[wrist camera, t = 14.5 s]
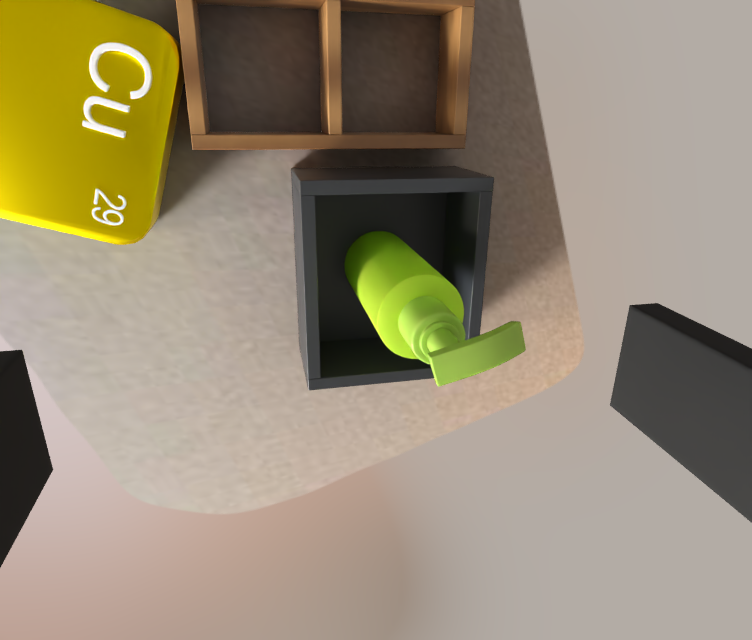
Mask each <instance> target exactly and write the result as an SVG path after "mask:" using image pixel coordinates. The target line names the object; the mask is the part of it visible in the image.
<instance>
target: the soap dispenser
mask: <svg viewBox="0 0 752 640" xmlns="http://www.w3.org/2000/svg"><path fill="white" fill-rule="evenodd" d="M344 267H345V274H346V277H347V279H348V281H349V283H350V285H351V286H352V288H353V290H354V292H355V293H356V295H357V297H358V299H359V301H360V302H361V304H362V306H363V308H364V309H365V311H366V313H367V315H368V316H369V318H370V320H371V322H372V323H373V325H374V327H375V329H376V331H377V332H378V334H379V336H380V338H381V339H382V341H383V343H384V344H385V345H386V346H387V347H388V348H389V349H390V350H391V351H392V352H394V353H395V354H397V355H399V356H402V357H405V358H410V359H419V360H421V361H422V362H424V363H427V364H430V365H431V368H432V372H433V375H434V379H435V382H436V384H437V385H438V386H442V385H445V384H448V383H452V382H455V381H458V380H461V379H464V378H467V377H470V376H473V375H476V374H479V373H481V372H484V371H486V370H489V369H491V368H494V367H496V366H498V365H500V364H502V363H505V362H506V361H508V360H510V359H512V358H514V357H516V356H517V355H519V354H521V353H522V352H524V351H525V350H526V348H525V343H524V337H523V332H522V327H521V322H516V321H511V322H508V323H506V324H504V325H502V326H500V327H498V328H496V329H494V330H492V331H489V332H487V333H484V334H482V335H479V336H476V337H474V338H471V339H468V340H465V329H464V326H463V324H462V323H463V318H464V306H463V301H462V298H461V296H460V294H459V292H458V291H457V289H456V288H455V287H454V286H453V285H452V284H451V283H450V282H449V281H448V280H447V279H445V278H444V277H443V276H442V275H441V274H440V273H439V272H438V271H436V270H435V269H434V268H433V267H432V266H431V265H430V264H428V263H427V262H426V261H425V260H424V259H423V258H422V257H420V256H419V255H418V254H417V253H416V252H415V251H414V250H412V249H411V248H410V247H409V246H408V245H407V244H406V243H405V242H403V241H402V240H401V239H400V238H399V237H397V236H396V235H394V234H392V233H389V232H385V231H374V232H369V233H367V234H364V235H362V236H361V237H359V238H358V239H357V240H356V241H355V242H354V243H353V244H352V245H351V247H350V248H349V250H348V252H347V254H346V258H345V264H344Z"/></svg>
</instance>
